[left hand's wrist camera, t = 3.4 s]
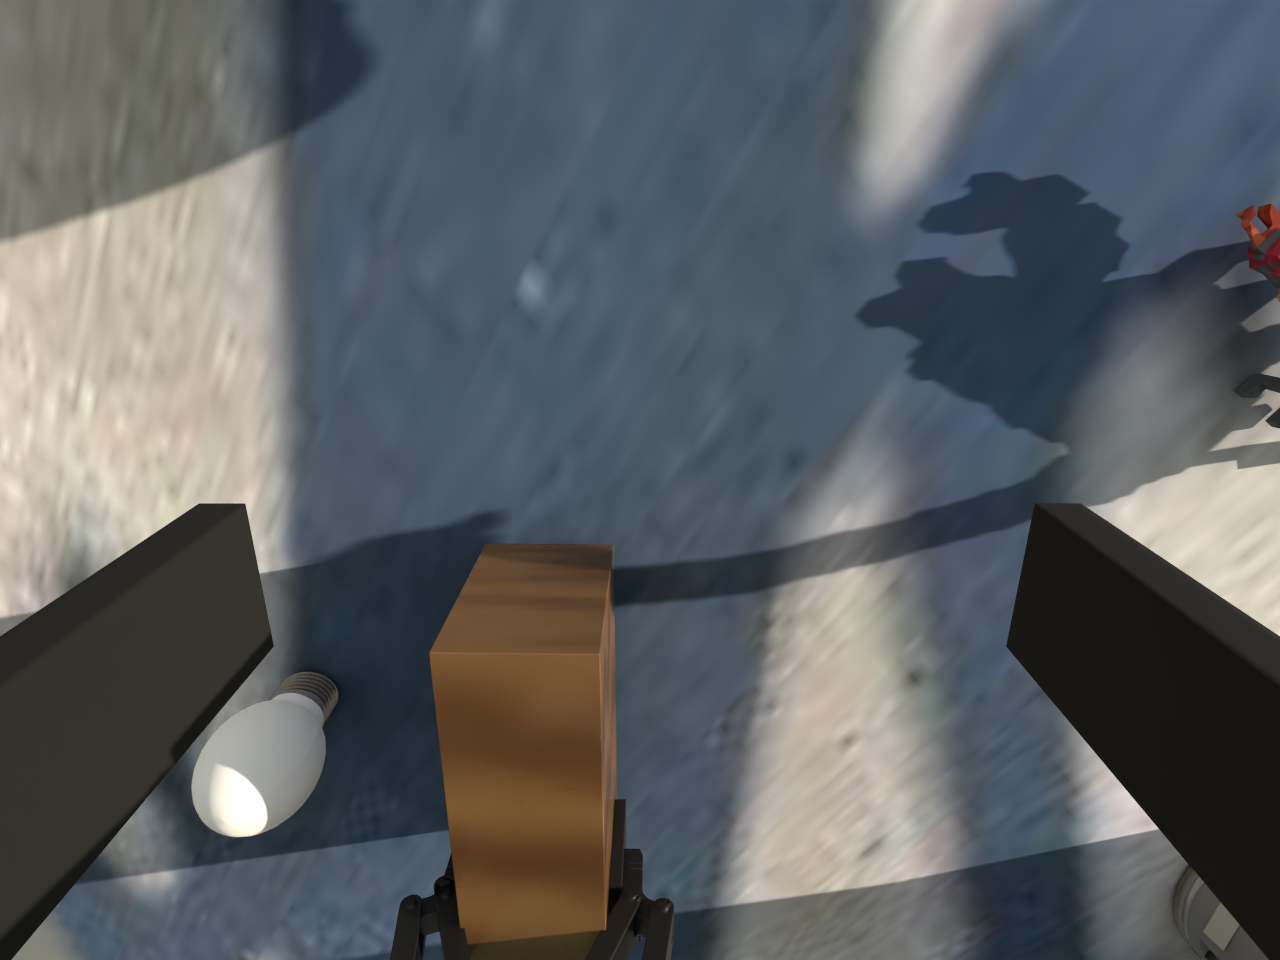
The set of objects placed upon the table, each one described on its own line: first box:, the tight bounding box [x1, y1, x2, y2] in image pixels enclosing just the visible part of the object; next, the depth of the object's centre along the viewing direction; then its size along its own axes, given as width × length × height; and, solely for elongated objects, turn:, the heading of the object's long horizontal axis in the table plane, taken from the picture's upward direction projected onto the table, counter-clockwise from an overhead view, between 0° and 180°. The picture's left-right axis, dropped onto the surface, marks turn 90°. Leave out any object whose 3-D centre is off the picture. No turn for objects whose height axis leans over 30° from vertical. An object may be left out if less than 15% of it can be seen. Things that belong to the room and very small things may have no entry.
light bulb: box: [191, 672, 338, 837], centre depth 45 cm, size 7×7×11 cm
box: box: [429, 544, 617, 960], centre depth 43 cm, size 22×8×12 cm, turn 0°
